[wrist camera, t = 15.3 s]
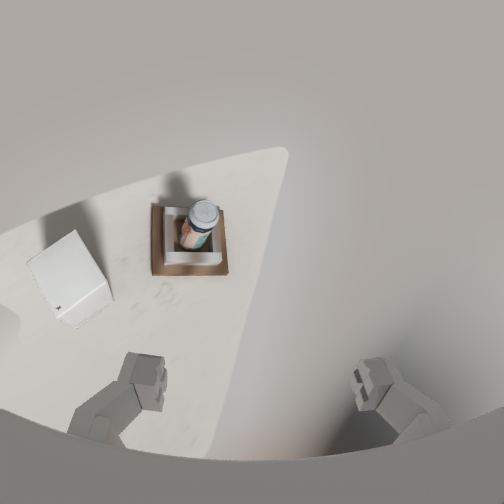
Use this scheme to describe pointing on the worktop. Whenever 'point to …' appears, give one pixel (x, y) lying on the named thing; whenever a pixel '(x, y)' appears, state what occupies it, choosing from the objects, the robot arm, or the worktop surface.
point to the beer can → (198, 225)
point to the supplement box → (71, 280)
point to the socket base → (177, 258)
